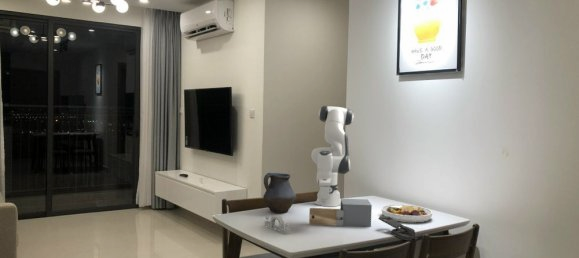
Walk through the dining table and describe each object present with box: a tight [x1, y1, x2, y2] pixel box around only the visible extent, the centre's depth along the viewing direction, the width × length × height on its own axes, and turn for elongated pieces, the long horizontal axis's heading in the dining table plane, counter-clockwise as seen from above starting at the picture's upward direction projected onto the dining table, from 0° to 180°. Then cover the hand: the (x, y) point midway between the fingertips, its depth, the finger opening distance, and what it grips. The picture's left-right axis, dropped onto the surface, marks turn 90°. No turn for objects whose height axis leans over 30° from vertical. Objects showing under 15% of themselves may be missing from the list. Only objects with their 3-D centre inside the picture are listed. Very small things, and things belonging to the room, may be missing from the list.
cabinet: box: [335, 198, 373, 227], centre depth 265 cm, size 18×20×12 cm
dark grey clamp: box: [377, 215, 419, 241], centre depth 244 cm, size 9×7×25 cm
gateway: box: [264, 215, 291, 235], centre depth 245 cm, size 20×2×8 cm, turn 39°
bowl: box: [381, 204, 433, 224], centre depth 281 cm, size 30×30×8 cm
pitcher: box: [262, 172, 297, 214], centre depth 287 cm, size 21×22×25 cm
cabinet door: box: [308, 207, 341, 226], centre depth 258 cm, size 4×18×9 cm, turn 88°
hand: (323, 204), depth 259 cm, fingers open, 8 cm apart
